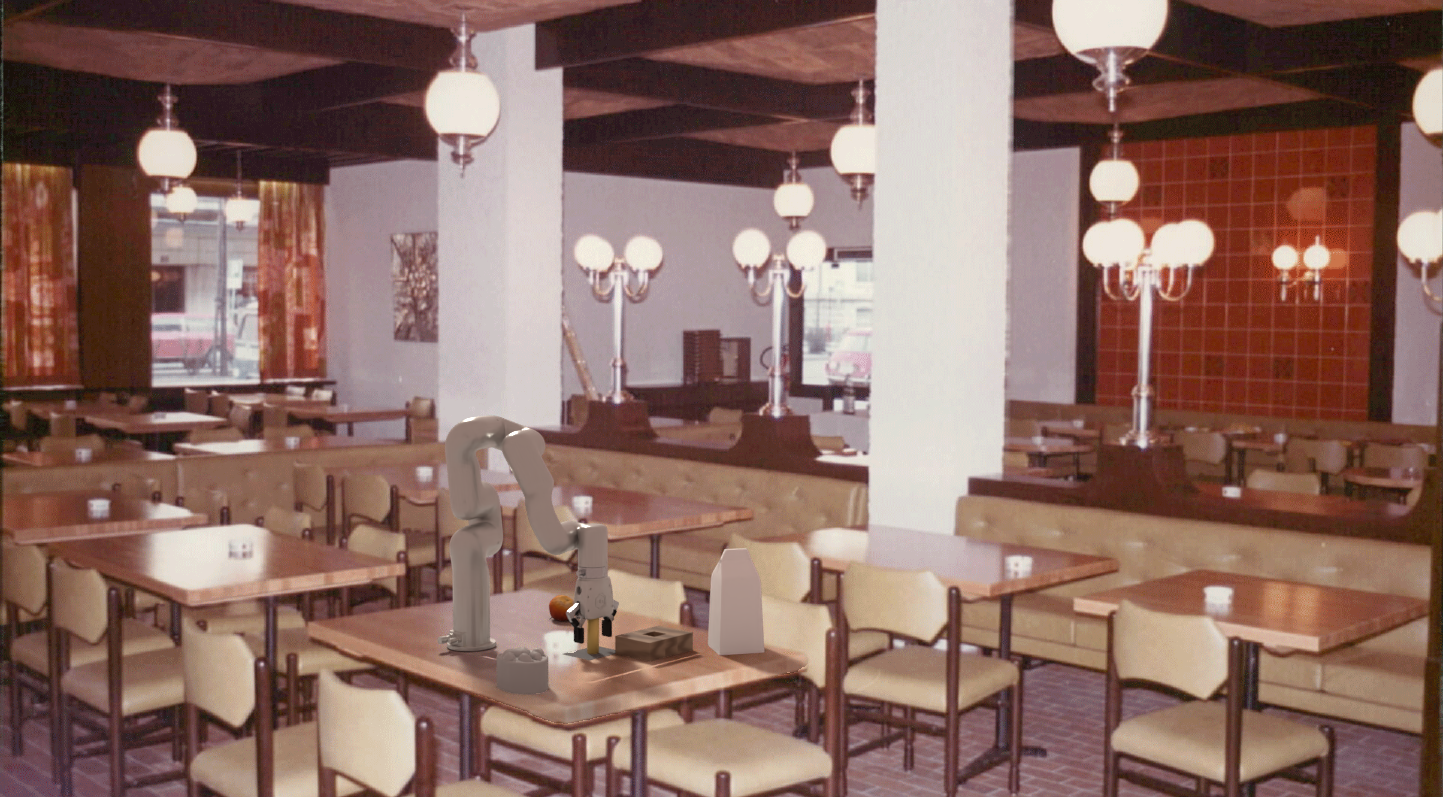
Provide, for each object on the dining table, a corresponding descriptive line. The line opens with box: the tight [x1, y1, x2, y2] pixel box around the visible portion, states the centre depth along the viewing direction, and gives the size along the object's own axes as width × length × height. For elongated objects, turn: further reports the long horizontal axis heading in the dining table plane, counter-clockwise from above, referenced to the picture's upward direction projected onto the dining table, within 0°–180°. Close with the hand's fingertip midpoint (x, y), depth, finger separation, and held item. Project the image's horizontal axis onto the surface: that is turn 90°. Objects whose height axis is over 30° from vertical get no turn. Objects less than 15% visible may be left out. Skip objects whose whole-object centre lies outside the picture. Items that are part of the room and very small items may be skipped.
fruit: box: [548, 594, 575, 622], centre depth 374 cm, size 8×8×8 cm
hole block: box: [614, 625, 694, 663], centre depth 334 cm, size 16×12×5 cm
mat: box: [563, 645, 616, 661], centre depth 333 cm, size 12×10×1 cm
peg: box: [586, 618, 600, 654], centre depth 332 cm, size 3×3×10 cm
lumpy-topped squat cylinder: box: [496, 646, 549, 696], centre depth 300 cm, size 10×13×9 cm
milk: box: [707, 547, 766, 656], centre depth 339 cm, size 12×12×26 cm
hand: (593, 639), depth 332 cm, fingers open, 9 cm apart
